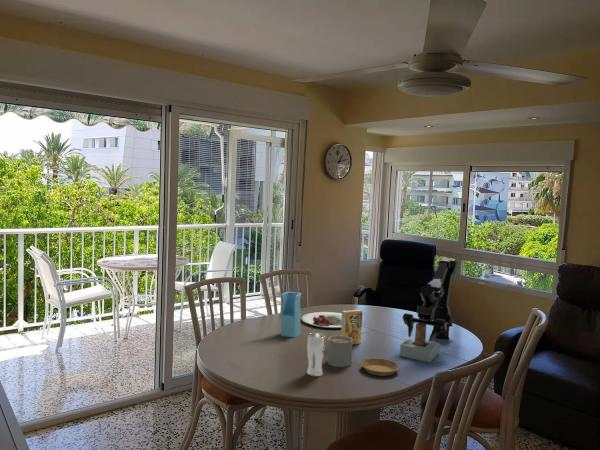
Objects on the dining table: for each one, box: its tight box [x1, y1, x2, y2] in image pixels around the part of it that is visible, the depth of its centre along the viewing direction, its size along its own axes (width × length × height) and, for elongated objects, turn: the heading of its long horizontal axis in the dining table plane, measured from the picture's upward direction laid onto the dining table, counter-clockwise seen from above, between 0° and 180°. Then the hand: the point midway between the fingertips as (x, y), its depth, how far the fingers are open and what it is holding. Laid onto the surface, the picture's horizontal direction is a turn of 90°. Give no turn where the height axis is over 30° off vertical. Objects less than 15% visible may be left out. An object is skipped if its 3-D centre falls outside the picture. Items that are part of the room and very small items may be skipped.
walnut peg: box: [414, 323, 427, 347], centre depth 210 cm, size 4×4×13 cm
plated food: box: [301, 311, 342, 329], centre depth 259 cm, size 30×30×3 cm
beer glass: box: [306, 332, 326, 377], centre depth 185 cm, size 7×7×15 cm
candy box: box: [340, 309, 363, 345], centre depth 223 cm, size 9×4×15 cm, turn 116°
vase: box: [279, 291, 303, 338], centre depth 233 cm, size 8×8×20 cm
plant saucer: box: [360, 358, 400, 377], centre depth 191 cm, size 15×15×3 cm
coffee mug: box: [326, 334, 353, 368], centre depth 199 cm, size 13×10×10 cm
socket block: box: [399, 337, 440, 363], centre depth 211 cm, size 13×13×5 cm
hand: (419, 338), depth 209 cm, fingers open, 9 cm apart
